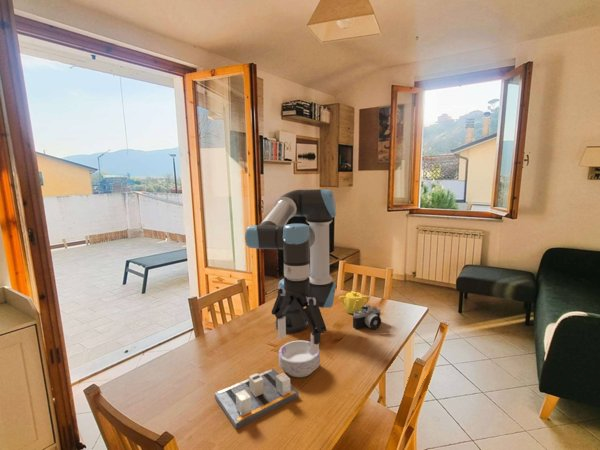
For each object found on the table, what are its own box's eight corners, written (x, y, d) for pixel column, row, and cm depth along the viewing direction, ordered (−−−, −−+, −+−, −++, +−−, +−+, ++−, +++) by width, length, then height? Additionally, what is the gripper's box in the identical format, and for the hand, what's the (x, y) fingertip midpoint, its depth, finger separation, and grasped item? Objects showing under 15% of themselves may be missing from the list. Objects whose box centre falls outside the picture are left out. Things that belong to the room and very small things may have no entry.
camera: (361, 335, 143) (361, 314, 141) (349, 327, 151) (349, 307, 149) (387, 327, 150) (388, 307, 148) (374, 320, 158) (375, 300, 156)
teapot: (373, 311, 167) (373, 293, 165) (357, 319, 159) (357, 299, 157) (352, 304, 177) (352, 286, 176) (336, 310, 169) (337, 292, 167)
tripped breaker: (249, 390, 104) (249, 375, 103) (257, 386, 106) (257, 372, 105) (255, 397, 101) (254, 382, 100) (263, 393, 103) (263, 378, 102)
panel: (215, 398, 104) (213, 378, 103) (273, 373, 117) (272, 354, 115) (236, 429, 91) (234, 406, 90) (298, 397, 104) (298, 377, 103)
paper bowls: (273, 363, 122) (272, 344, 121) (309, 354, 128) (309, 336, 127) (287, 387, 109) (287, 366, 107) (327, 376, 115) (327, 355, 113)
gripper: (259, 271, 99) (261, 335, 102) (321, 290, 82) (321, 366, 85) (277, 266, 104) (278, 327, 108) (339, 283, 88) (338, 355, 91)
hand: (297, 345), depth 96 cm, fingers open, 13 cm apart
